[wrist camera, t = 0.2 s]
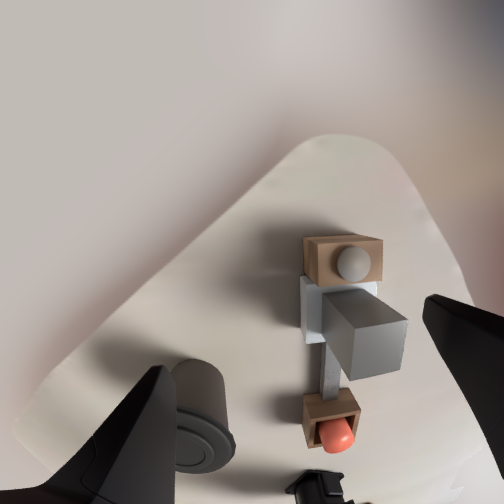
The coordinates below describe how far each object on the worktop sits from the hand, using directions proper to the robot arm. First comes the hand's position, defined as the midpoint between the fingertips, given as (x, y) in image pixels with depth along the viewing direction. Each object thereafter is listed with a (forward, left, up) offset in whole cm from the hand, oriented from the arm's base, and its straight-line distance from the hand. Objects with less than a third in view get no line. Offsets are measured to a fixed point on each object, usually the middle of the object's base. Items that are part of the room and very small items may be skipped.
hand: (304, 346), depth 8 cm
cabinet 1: (+3, -5, -15) cm, 17 cm away
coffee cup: (-14, +1, -16) cm, 21 cm away
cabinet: (-12, -13, -15) cm, 23 cm away
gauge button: (-12, -13, -13) cm, 22 cm away
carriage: (-1, -7, -15) cm, 17 cm away
